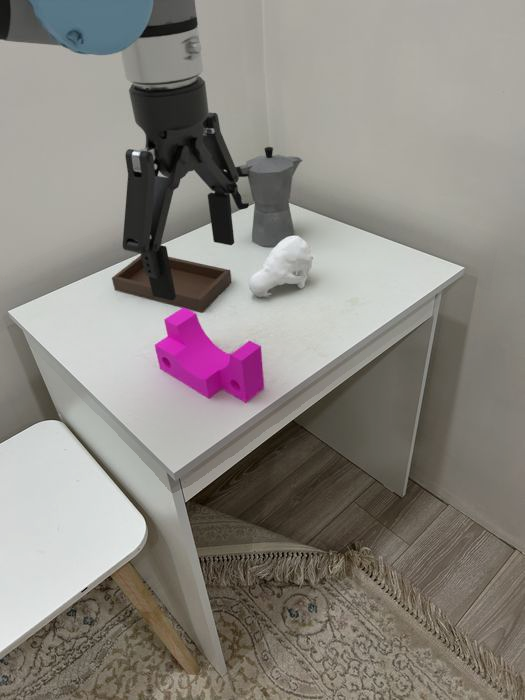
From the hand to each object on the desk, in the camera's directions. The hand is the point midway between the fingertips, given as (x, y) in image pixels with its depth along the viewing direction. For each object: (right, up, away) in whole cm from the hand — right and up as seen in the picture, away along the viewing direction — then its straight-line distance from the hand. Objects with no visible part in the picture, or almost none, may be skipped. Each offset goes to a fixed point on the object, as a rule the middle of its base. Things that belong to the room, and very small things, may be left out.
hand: (196, 268), depth 67 cm
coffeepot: (+9, +12, +44) cm, 46 cm away
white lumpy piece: (+11, +1, +29) cm, 31 cm away
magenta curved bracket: (+1, -14, +12) cm, 18 cm away
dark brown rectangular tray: (-8, +1, +31) cm, 32 cm away
